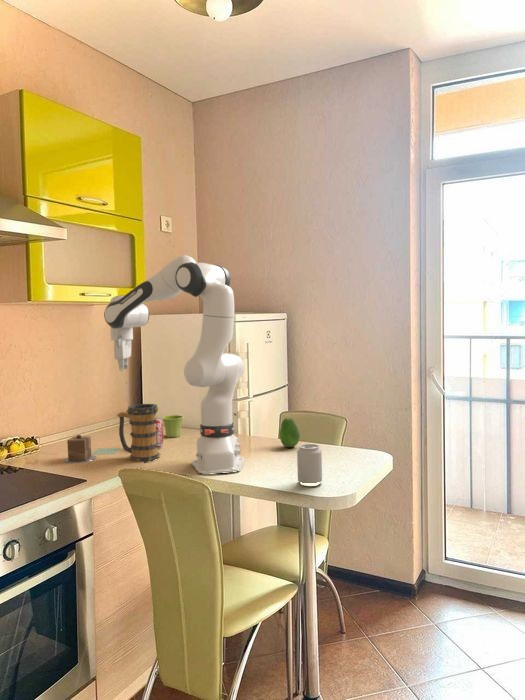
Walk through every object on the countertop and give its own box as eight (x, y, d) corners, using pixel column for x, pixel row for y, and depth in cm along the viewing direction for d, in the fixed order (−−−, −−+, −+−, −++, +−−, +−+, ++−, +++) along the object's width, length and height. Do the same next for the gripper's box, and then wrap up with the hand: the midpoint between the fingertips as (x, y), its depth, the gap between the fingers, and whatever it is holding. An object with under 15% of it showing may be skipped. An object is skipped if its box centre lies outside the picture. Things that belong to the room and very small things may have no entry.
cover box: (75, 456, 213) (73, 433, 213) (91, 456, 213) (90, 433, 212) (68, 461, 207) (67, 437, 206) (85, 460, 207) (84, 437, 206)
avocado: (276, 447, 220) (275, 417, 220) (290, 444, 225) (289, 415, 225) (289, 451, 214) (288, 420, 213) (304, 447, 219) (303, 417, 218)
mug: (153, 464, 201) (150, 409, 200) (110, 462, 205) (107, 408, 204) (167, 455, 213) (165, 403, 212) (127, 453, 217) (125, 403, 216)
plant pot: (188, 435, 250) (187, 416, 249) (174, 439, 242) (173, 419, 241) (172, 433, 254) (171, 414, 254) (158, 437, 247) (157, 418, 246)
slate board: (93, 463, 205) (93, 461, 205) (59, 465, 203) (59, 463, 203) (99, 455, 217) (99, 454, 217) (67, 457, 215) (67, 456, 215)
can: (320, 480, 175) (319, 442, 174) (324, 487, 167) (323, 447, 167) (296, 481, 174) (295, 443, 174) (299, 488, 167) (298, 448, 166)
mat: (114, 455, 216) (114, 454, 216) (89, 455, 217) (89, 454, 217) (122, 449, 226) (122, 448, 226) (98, 449, 227) (98, 448, 227)
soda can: (165, 446, 229) (164, 417, 228) (160, 450, 222) (159, 420, 221) (148, 446, 230) (147, 417, 229) (143, 450, 223) (142, 420, 222)
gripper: (125, 335, 217) (127, 371, 217) (133, 335, 237) (134, 367, 238) (109, 336, 216) (111, 371, 217) (118, 336, 237) (119, 368, 237)
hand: (123, 369), depth 227 cm, fingers open, 8 cm apart
